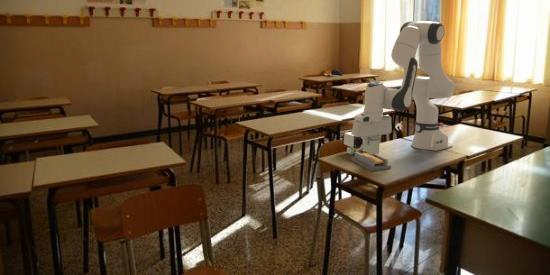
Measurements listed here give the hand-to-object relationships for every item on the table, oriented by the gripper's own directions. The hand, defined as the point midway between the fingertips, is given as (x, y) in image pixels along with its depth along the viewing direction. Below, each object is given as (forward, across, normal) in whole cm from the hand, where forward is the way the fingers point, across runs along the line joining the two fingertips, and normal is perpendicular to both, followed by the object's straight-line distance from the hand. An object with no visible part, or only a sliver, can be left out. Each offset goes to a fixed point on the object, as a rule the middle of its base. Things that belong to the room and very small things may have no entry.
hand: (371, 144), depth 201 cm
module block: (+4, 0, 0) cm, 4 cm away
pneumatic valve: (+10, -1, -19) cm, 22 cm away
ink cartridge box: (+10, -13, -22) cm, 28 cm away
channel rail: (+10, 0, 0) cm, 10 cm away
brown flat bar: (+8, 0, 0) cm, 8 cm away
